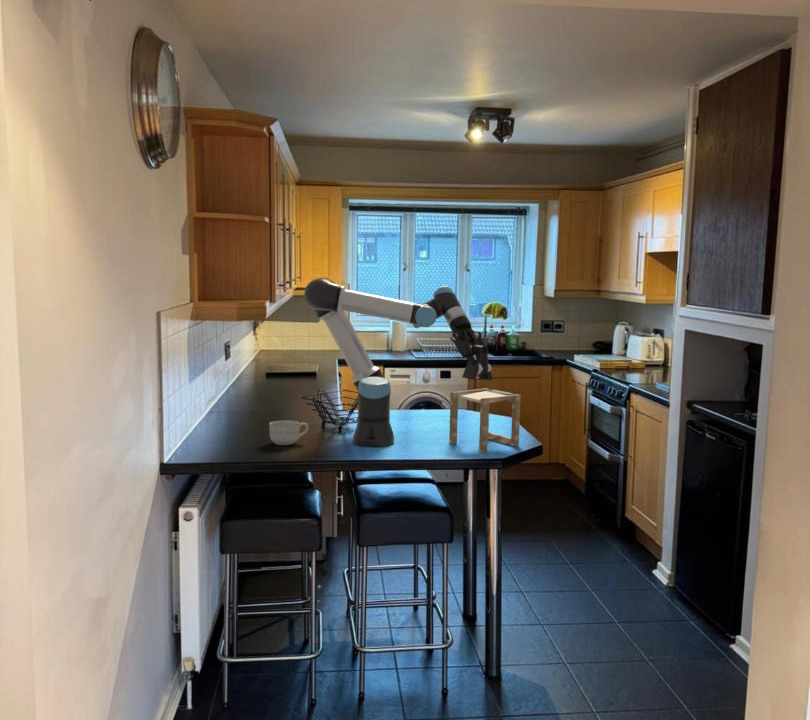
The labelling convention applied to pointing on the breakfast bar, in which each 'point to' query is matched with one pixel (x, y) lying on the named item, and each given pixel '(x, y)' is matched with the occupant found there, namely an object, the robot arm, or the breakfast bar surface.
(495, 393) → the trapdoor
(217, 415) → the breakfast bar surface
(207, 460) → the breakfast bar surface
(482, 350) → the phone stand
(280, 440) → the teacup
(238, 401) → the breakfast bar surface
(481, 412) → the trapdoor frame
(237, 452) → the breakfast bar surface
